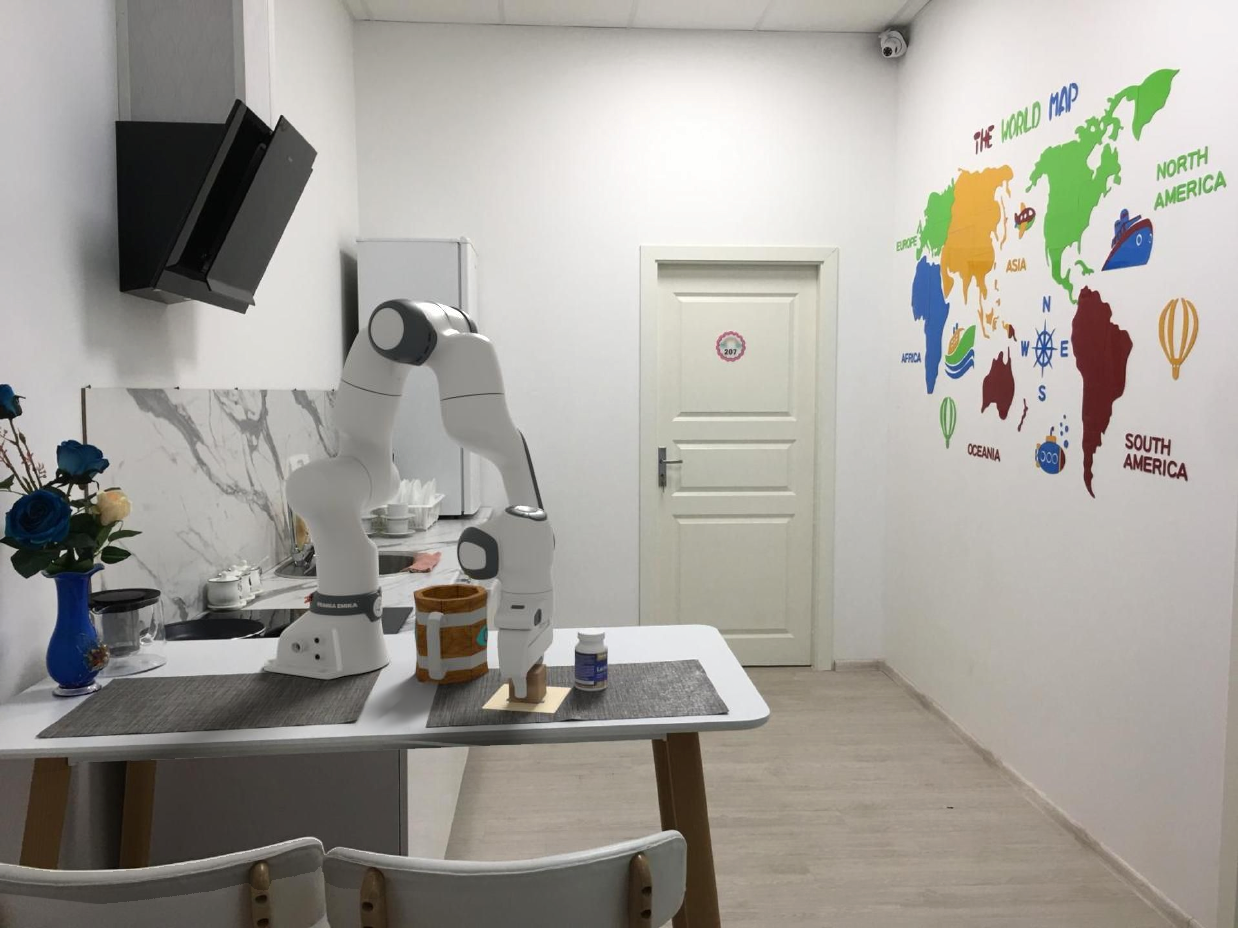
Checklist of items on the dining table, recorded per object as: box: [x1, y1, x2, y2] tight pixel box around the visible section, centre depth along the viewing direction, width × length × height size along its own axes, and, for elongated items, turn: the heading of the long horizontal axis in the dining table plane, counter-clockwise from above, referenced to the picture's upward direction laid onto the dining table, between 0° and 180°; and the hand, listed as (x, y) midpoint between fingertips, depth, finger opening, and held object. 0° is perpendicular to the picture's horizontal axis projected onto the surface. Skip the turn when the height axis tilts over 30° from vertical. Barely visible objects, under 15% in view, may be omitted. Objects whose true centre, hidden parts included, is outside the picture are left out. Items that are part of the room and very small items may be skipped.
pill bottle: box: [574, 627, 609, 692], centre depth 156 cm, size 6×6×10 cm
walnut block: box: [508, 663, 547, 704], centre depth 150 cm, size 5×5×5 cm
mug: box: [413, 583, 490, 685], centre depth 160 cm, size 20×14×15 cm
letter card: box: [481, 683, 572, 714], centre depth 150 cm, size 12×12×1 cm
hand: (528, 687), depth 150 cm, fingers open, 7 cm apart
